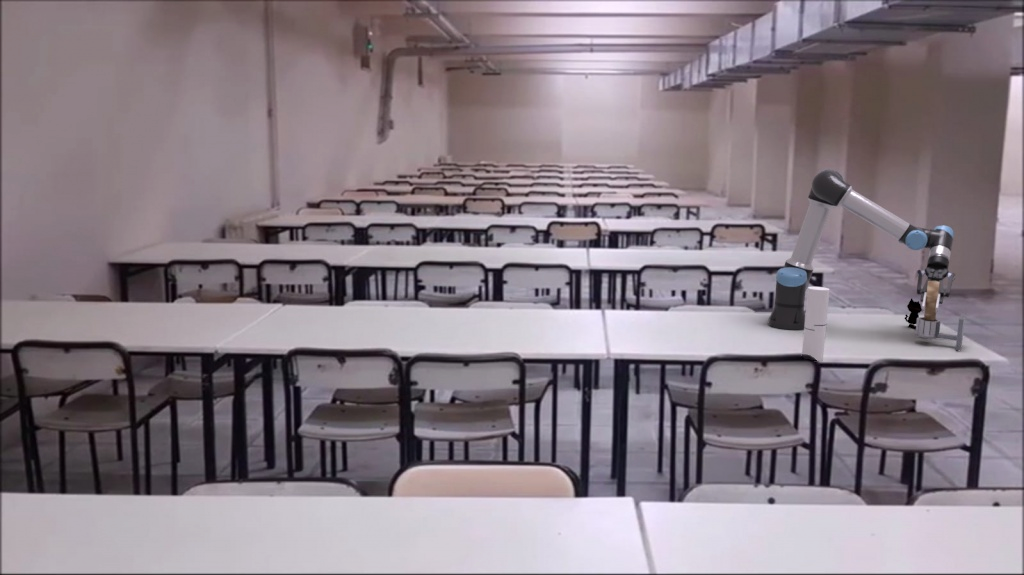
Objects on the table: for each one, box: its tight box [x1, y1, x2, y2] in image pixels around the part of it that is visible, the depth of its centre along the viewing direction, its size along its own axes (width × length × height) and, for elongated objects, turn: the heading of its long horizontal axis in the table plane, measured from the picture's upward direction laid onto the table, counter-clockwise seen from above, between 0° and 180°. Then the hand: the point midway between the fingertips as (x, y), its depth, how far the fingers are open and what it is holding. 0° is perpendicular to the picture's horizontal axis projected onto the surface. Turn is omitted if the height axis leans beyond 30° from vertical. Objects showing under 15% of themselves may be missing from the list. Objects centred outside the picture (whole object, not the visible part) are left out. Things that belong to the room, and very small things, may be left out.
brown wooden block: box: [923, 281, 940, 321], centre depth 343 cm, size 4×4×16 cm
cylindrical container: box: [801, 286, 830, 362], centre depth 315 cm, size 7×7×25 cm
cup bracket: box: [915, 313, 967, 351], centre depth 343 cm, size 16×12×12 cm
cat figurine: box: [904, 297, 925, 330], centre depth 374 cm, size 7×7×12 cm
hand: (929, 308), depth 340 cm, fingers closed on brown wooden block, 4 cm apart
